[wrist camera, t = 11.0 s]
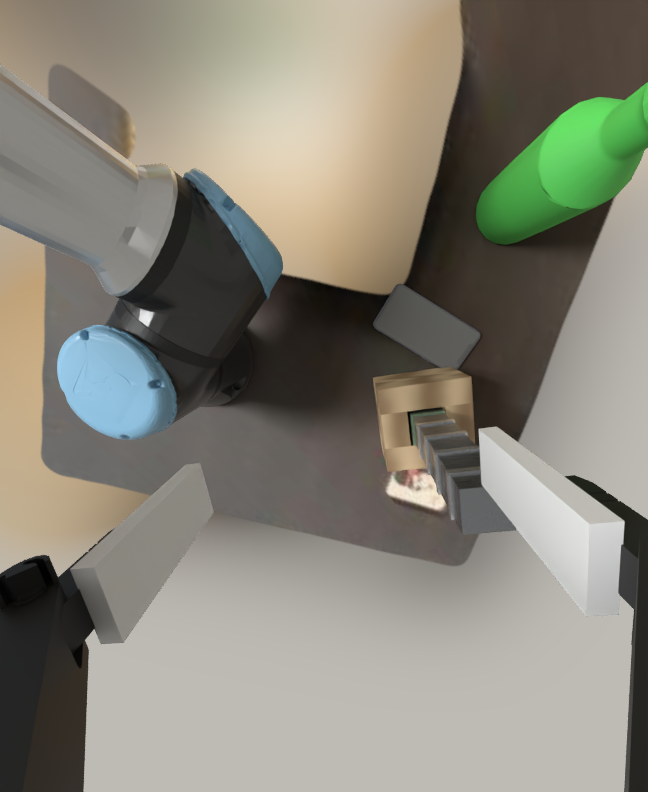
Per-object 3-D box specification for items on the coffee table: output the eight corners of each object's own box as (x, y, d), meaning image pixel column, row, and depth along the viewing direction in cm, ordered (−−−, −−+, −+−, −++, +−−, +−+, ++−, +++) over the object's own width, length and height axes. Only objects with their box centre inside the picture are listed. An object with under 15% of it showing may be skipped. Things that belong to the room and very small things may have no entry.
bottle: (546, 230, 44) (791, 123, 19) (483, 256, 45) (638, 186, 21) (530, 163, 42) (779, -47, 18) (465, 192, 43) (613, 35, 19)
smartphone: (398, 281, 46) (483, 333, 47) (397, 281, 47) (481, 333, 48) (370, 326, 48) (453, 376, 49) (370, 326, 49) (451, 375, 50)
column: (408, 435, 46) (460, 537, 25) (405, 407, 45) (456, 487, 24) (439, 431, 46) (518, 532, 24) (437, 402, 45) (517, 481, 23)
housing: (381, 446, 53) (389, 477, 43) (372, 377, 50) (378, 392, 40) (454, 437, 52) (480, 467, 42) (449, 366, 49) (476, 379, 39)
